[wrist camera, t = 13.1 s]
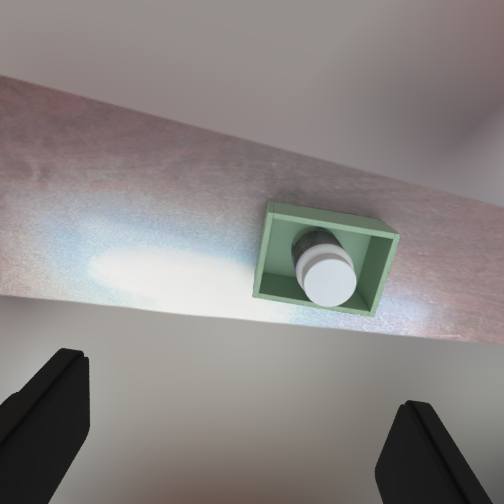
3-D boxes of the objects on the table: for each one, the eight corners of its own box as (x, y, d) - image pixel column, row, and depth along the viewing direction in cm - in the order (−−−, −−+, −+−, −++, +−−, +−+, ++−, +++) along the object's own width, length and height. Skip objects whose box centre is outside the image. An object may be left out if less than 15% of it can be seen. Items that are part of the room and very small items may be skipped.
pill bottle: (280, 248, 33) (285, 283, 25) (316, 215, 31) (332, 241, 23) (313, 279, 34) (327, 322, 26) (348, 249, 32) (375, 284, 24)
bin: (254, 273, 34) (252, 297, 29) (267, 200, 32) (267, 211, 26) (358, 290, 34) (374, 317, 29) (379, 219, 32) (401, 234, 27)
